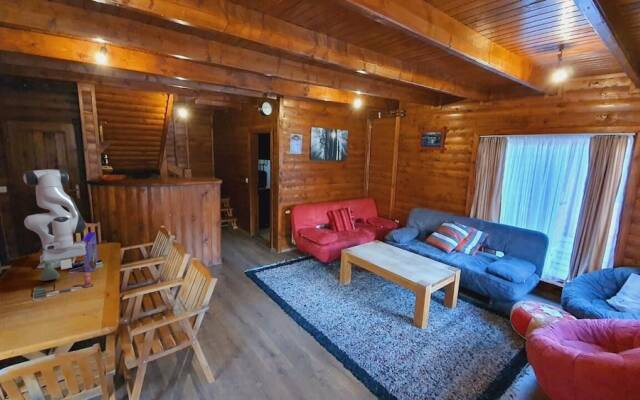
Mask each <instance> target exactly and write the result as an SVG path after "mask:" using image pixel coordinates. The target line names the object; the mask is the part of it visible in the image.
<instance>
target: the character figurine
mask: <svg viewBox="0 0 640 400" xmlns="http://www.w3.org/2000/svg"><path fill="white" fill-rule="evenodd" d="M52 262H54V263H56V262H55V261H54V260H51V261H43V262H41V263H38V264H36V265H35V266H34V267H32V268H31V269H30V270H29V271H30V272H32V271H34V270H36V268H37V266H40V265H42V264H43V263H45V267H44V268H43V270H42V272H41V274H40V276H39V278H38V280H39V281H45V283H49V280H51V281H52V282H54V281H56V279H58V278H59V277H61V274H59V272H58V271H57V270H56V268H53V266H52V265H51V263H52Z"/></svg>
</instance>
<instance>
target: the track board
mask: <svg viewBox="0 0 640 400" xmlns="http://www.w3.org/2000/svg"><path fill="white" fill-rule="evenodd" d="M91 287H92V288H93V287H94V283H92V286H91ZM91 287H90V288H91ZM88 288H89V287H87V288H85V287H84V285H80V286H76V287H75V286H74V287H71V288H66V289H61V290H56V291H54V292H49V293H45V294H41V295H37V296H33V295H32V301H33V300H34V301H38V300H42V299H45V298H46V297H51V296H52V297H53V296H55V295H59V294H64V293H69V292H74V291H78V290H82V289H88Z"/></svg>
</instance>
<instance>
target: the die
mask: <svg viewBox="0 0 640 400" xmlns="http://www.w3.org/2000/svg"><path fill="white" fill-rule="evenodd" d="M71 260H72V257H69V258H64V259H60V263H61V267H60V269H61V270H65V269H70V268H71V269H72V268H73V264H72V263H71Z"/></svg>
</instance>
